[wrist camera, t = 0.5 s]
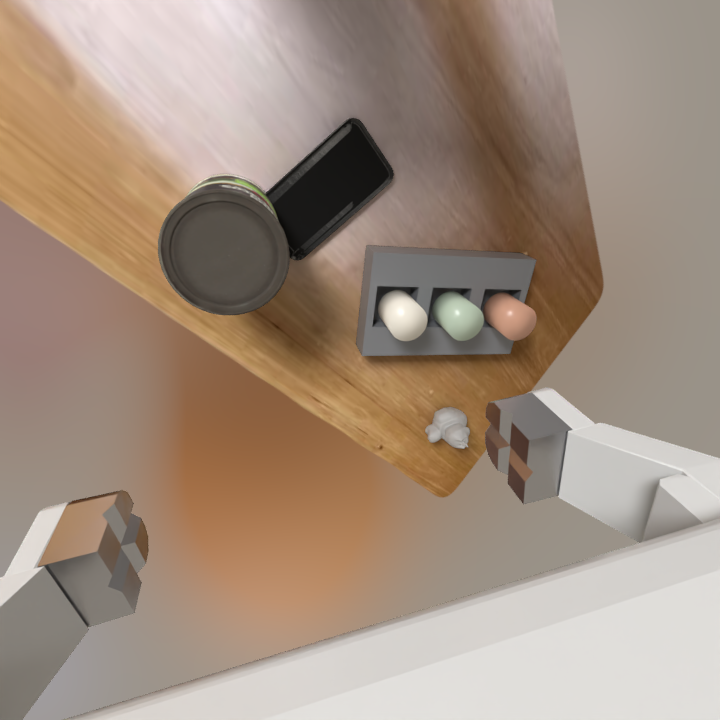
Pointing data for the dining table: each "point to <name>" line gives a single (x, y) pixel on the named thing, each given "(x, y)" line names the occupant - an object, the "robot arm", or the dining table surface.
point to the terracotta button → (509, 316)
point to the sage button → (457, 315)
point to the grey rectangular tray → (437, 295)
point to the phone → (329, 187)
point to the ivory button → (402, 315)
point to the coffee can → (224, 246)
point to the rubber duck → (449, 427)
